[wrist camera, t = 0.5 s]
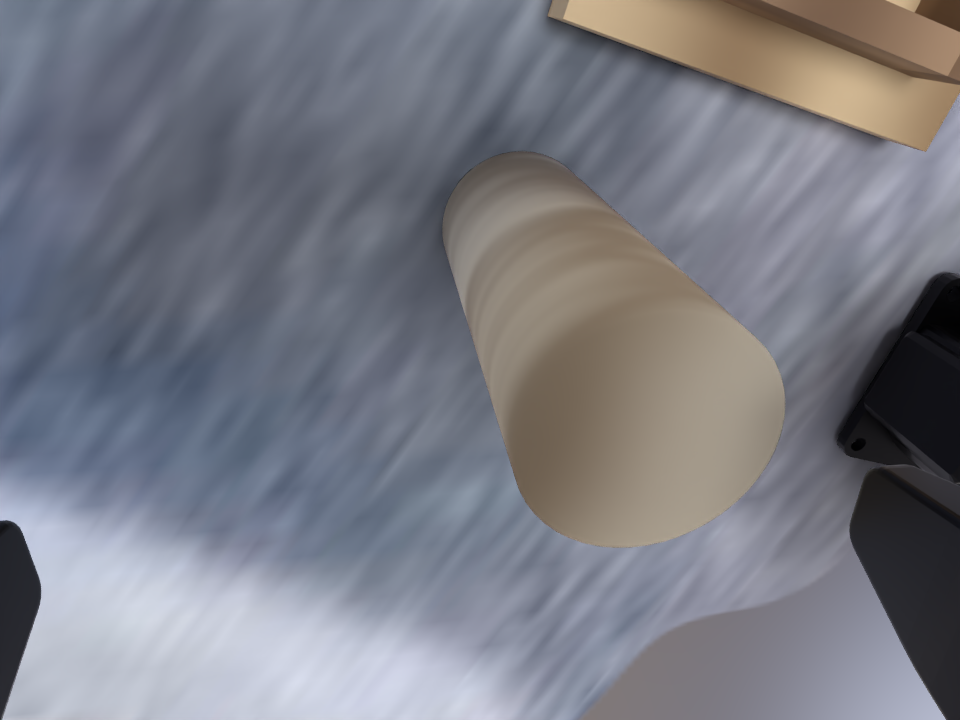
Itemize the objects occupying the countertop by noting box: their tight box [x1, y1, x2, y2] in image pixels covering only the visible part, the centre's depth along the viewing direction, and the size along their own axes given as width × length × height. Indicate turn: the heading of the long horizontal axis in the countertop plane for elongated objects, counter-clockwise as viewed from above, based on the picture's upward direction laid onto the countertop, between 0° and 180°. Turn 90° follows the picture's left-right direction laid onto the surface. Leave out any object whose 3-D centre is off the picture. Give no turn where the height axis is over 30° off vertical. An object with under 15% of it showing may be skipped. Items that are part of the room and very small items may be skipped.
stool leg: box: [442, 151, 785, 548], centre depth 14 cm, size 4×4×10 cm
